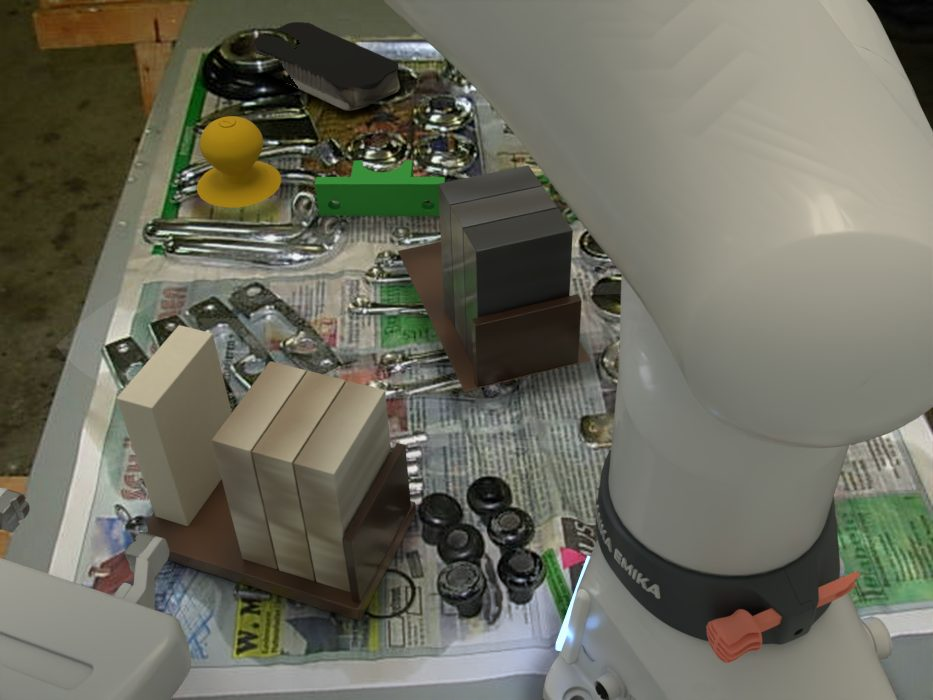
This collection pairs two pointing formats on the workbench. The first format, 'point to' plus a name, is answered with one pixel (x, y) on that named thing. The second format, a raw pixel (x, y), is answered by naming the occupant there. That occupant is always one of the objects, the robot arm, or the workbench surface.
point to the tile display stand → (302, 493)
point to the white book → (177, 422)
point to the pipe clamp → (378, 193)
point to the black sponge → (331, 66)
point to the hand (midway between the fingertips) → (85, 518)
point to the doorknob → (235, 164)
